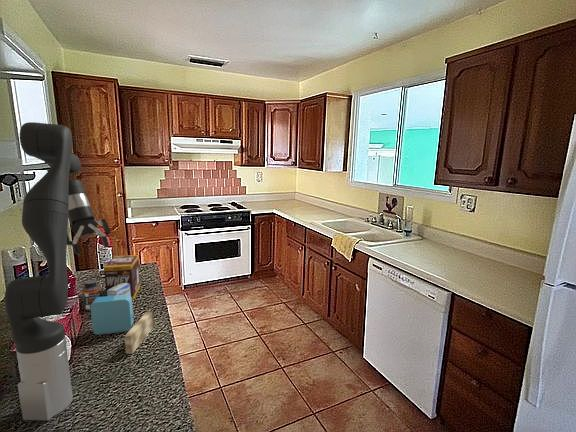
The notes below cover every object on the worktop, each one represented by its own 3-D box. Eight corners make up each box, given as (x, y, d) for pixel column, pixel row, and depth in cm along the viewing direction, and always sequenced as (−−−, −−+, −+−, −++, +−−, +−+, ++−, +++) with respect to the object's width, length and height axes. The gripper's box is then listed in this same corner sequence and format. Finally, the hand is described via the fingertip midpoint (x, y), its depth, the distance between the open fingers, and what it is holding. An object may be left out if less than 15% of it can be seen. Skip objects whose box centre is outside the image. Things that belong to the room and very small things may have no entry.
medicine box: (118, 311, 125) (116, 291, 123) (108, 310, 125) (106, 290, 124) (131, 302, 132) (130, 283, 130) (122, 301, 133) (120, 282, 131)
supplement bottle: (89, 313, 123) (86, 285, 121) (80, 309, 126) (77, 282, 124) (104, 306, 128) (102, 280, 126) (95, 303, 131) (92, 277, 129)
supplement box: (106, 302, 132) (103, 267, 129) (116, 287, 146) (113, 255, 144) (133, 300, 134) (130, 265, 131) (140, 286, 149) (138, 254, 146)
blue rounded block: (133, 324, 116) (131, 293, 113) (131, 330, 111) (129, 299, 109) (96, 328, 112) (93, 297, 110) (93, 335, 108) (89, 303, 106)
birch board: (132, 353, 99) (131, 335, 97) (125, 353, 99) (124, 335, 97) (154, 326, 114) (153, 310, 113) (148, 326, 114) (147, 310, 113)
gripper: (56, 210, 106) (71, 256, 106) (102, 201, 116) (116, 243, 116) (53, 215, 111) (68, 258, 111) (97, 206, 121) (111, 246, 121)
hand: (93, 250), depth 114 cm, fingers open, 8 cm apart
